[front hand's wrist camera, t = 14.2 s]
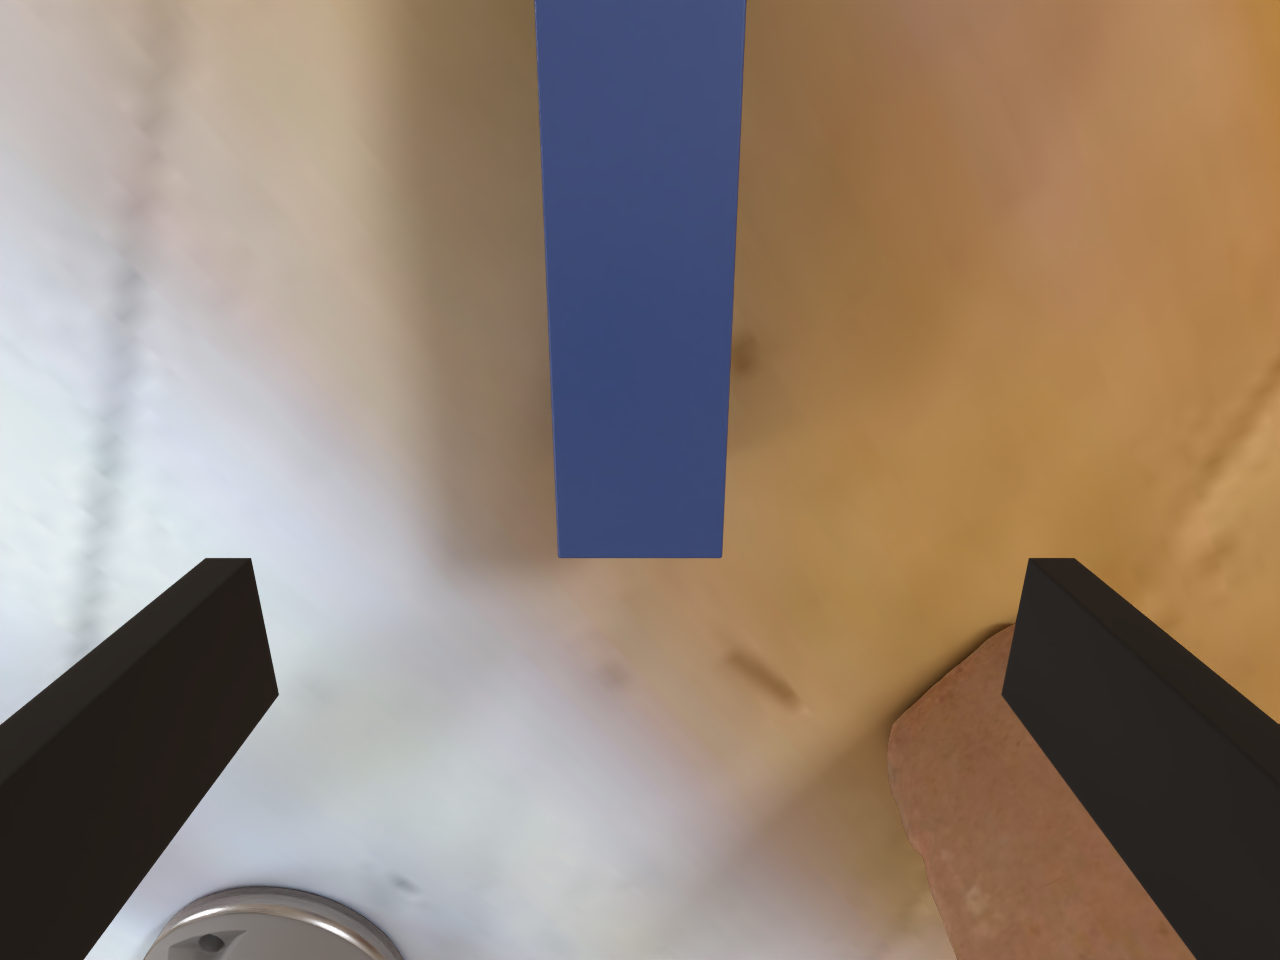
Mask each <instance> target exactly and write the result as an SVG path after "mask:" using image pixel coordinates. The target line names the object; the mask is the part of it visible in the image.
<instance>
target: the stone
mask: <svg viewBox="0 0 1280 960" xmlns="http://www.w3.org/2000/svg"><path fill="white" fill-rule="evenodd" d="M1015 624H1016V623H1015ZM1015 624H1013V625H1011V626H1009V627H1007V628H1005V629H1004V630H1002V631H1000V632H998V633H997V634H995V635H994V636H992V637H991V638H989V639H988V640H986V641H985V642H984V643H983V644H982V645H981V646H980V647H979V648H978V649H977V650H975V651H974V652H973V653H972V654H971V655H970V656H968V657H967V658H966V659H965V660H964V661H963V662H961V663H960V664H959V665H957V666H956V667H955V668H953V669H952V670H951V671H950V672H948V673H947V674H946V675H945V676H944V677H943V678H942V679H941V680H940V681H939V682H937V683H936V684H935V685H933V686H932V687H931V688H930V689H929V690H928V691H927V692H926V693H925V694H924V695H923V696H922V697H921V698H920V699H919V700H918V701H917V702H915V703H914V704H913V705H912V706H911V707H910V708H908V709H907V710H906V711H905V712H904V713H903V714H902V715H901V716H900V717H899V718H898V719H897V720H896V722H895V723H894V724H893V725H892V729H891V733H890V737H889V741H888V750H887V768H888V779H889V784H890V789H891V793H892V795H893V797H894V799H895V801H896V803H897V805H898V808H899V812H900V815H901V819H902V823H903V826H904V829H905V831H906V834H907V837H908V840H909V842H910V844H911V846H912V847H913V848H914V849H915V850H916V851H917V852H918V853H919V854H921V855H922V856H923V858H924V863H925V867H926V872H927V877H928V881H929V886H930V891H931V894H932V896H933V898H934V901H935V903H936V905H937V908H938V910H939V912H940V915H941V917H942V919H943V922H944V925H945V928H946V931H947V934H948V937H949V939H950V942H951V944H952V947H953V949H954V952H955V954H956V957H957V960H1196V958H1195V957H1194V956H1193V954H1192V953H1191V952H1190V950H1189V949H1188V948H1187V946H1186V945H1185V944H1184V942H1183V941H1182V939H1181V938H1180V937H1179V935H1178V934H1177V933H1176V931H1175V930H1174V929H1173V927H1172V926H1171V925H1170V923H1169V922H1168V920H1167V919H1166V918H1165V916H1164V915H1163V914H1162V912H1161V911H1160V910H1159V908H1158V907H1157V906H1156V904H1155V903H1154V901H1153V900H1152V899H1151V897H1150V896H1149V895H1148V893H1147V892H1146V891H1145V889H1144V888H1143V887H1142V885H1141V884H1140V882H1139V881H1138V880H1137V878H1136V877H1135V876H1134V874H1133V873H1132V872H1131V870H1130V869H1129V868H1128V866H1127V865H1126V863H1125V862H1124V861H1123V859H1122V858H1121V857H1120V855H1119V854H1118V853H1117V851H1116V850H1115V849H1114V847H1113V846H1112V844H1111V843H1110V842H1109V840H1108V839H1107V838H1106V836H1105V835H1104V834H1103V832H1102V831H1101V830H1100V828H1099V827H1098V826H1097V824H1096V823H1095V821H1094V820H1093V819H1092V817H1091V816H1090V815H1089V813H1088V812H1087V811H1086V809H1085V808H1084V807H1083V805H1082V804H1081V802H1080V801H1079V800H1078V798H1077V797H1076V796H1075V794H1074V793H1073V792H1072V790H1071V789H1070V788H1069V786H1068V785H1067V783H1066V782H1065V781H1064V779H1063V778H1062V777H1061V775H1060V774H1059V773H1058V771H1057V770H1056V769H1055V767H1054V766H1053V764H1052V763H1051V762H1050V760H1049V759H1048V758H1047V756H1046V755H1045V754H1044V752H1043V751H1042V750H1041V748H1040V747H1039V745H1038V744H1037V743H1036V741H1035V740H1034V739H1033V737H1032V736H1031V735H1030V733H1029V732H1028V731H1027V729H1026V728H1025V726H1024V725H1023V724H1022V722H1021V721H1020V720H1019V718H1018V717H1017V716H1016V714H1015V713H1014V712H1013V710H1012V709H1011V708H1010V706H1009V705H1008V703H1007V702H1006V701H1005V699H1004V698H1003V697H1002V695H1001V693H1002V688H1003V683H1004V678H1005V673H1006V669H1007V664H1008V659H1009V654H1010V649H1011V644H1012V639H1013V634H1014V629H1015Z"/></svg>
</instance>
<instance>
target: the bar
mask: <svg viewBox="0 0 1280 960" xmlns="http://www.w3.org/2000/svg"><path fill="white" fill-rule="evenodd" d="M534 2H535V25H536V49H537V73H538V96H539V120H540V143H541V167H542V190H543V214H544V238H545V261H546V285H547V308H548V332H549V355H550V379H551V403H552V426H553V450H554V473H555V497H556V520H557V544H558V557H559V558H721V557H722V547H723V524H724V501H725V478H726V456H727V433H728V410H729V387H730V364H731V341H732V318H733V295H734V273H735V250H736V227H737V204H738V181H739V158H740V135H741V112H742V90H743V67H744V44H745V21H746V0H534Z"/></svg>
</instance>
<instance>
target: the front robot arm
mask: <svg viewBox="0 0 1280 960" xmlns="http://www.w3.org/2000/svg"><path fill="white" fill-rule="evenodd" d="M278 695H279V693H278V688H277V683H276V678H275V673H274V669H273V664H272V659H271V654H270V649H269V644H268V639H267V634H266V629H265V624H264V619H263V615H262V610H261V605H260V600H259V595H258V590H257V585H256V580H255V575H254V570H253V565H252V561H251V558H205V559H204V560H203V561H202V562H200V563H199V564H198V565H197V566H195V567H194V568H193V569H192V570H191V571H189V572H188V573H187V574H186V575H184V576H183V577H182V578H181V579H179V580H178V581H177V582H176V583H175V584H173V585H172V586H171V587H170V588H168V589H167V590H166V591H165V592H163V593H162V594H161V595H160V596H159V597H157V598H156V599H155V600H154V601H152V602H151V603H150V604H149V605H147V606H146V607H145V608H144V609H143V610H141V611H140V612H139V613H138V614H136V615H135V616H134V617H133V618H131V619H130V620H129V621H128V622H127V623H125V624H124V625H123V626H122V627H120V628H119V629H118V630H117V631H115V632H114V633H113V634H112V635H111V636H109V637H108V638H107V639H106V640H104V641H103V642H102V643H101V644H100V645H98V646H97V647H96V648H95V649H93V650H92V651H91V652H90V653H88V654H87V655H86V656H85V657H84V658H82V659H81V660H80V661H79V662H77V663H76V664H75V665H74V666H72V667H71V668H70V669H69V670H68V671H66V672H65V673H64V674H63V675H61V676H60V677H59V678H58V679H56V680H55V681H54V682H53V683H52V684H50V685H49V686H48V687H47V688H45V689H44V690H43V691H42V692H40V693H39V694H38V695H37V696H36V697H34V698H33V699H32V700H31V701H29V702H28V703H27V704H26V705H25V706H23V707H22V708H21V709H20V710H18V711H17V712H16V713H15V714H13V715H12V716H11V717H10V718H9V719H7V720H6V721H5V722H4V723H2V724H1V725H0V960H84V958H85V957H86V956H87V954H88V953H89V952H90V950H91V949H92V948H93V946H94V945H95V944H96V942H97V941H98V939H99V938H100V937H101V935H102V934H103V933H104V931H105V930H106V929H107V927H108V926H109V925H110V923H111V922H112V920H113V919H114V918H115V916H116V915H117V914H118V912H119V911H120V910H121V908H122V907H123V906H124V904H125V903H126V901H127V900H128V899H129V897H130V896H131V895H132V893H133V892H134V891H135V889H136V888H137V887H138V885H139V884H140V882H141V881H142V880H143V878H144V877H145V876H146V874H147V873H148V872H149V870H150V869H151V868H152V866H153V865H154V863H155V862H156V861H157V859H158V858H159V857H160V855H161V854H162V853H163V851H164V850H165V849H166V847H167V846H168V844H169V843H170V842H171V840H172V839H173V838H174V836H175V835H176V834H177V832H178V831H179V830H180V828H181V827H182V826H183V824H184V823H185V821H186V820H187V819H188V817H189V816H190V815H191V813H192V812H193V811H194V809H195V808H196V807H197V805H198V804H199V802H200V801H201V800H202V798H203V797H204V796H205V794H206V793H207V792H208V790H209V789H210V788H211V786H212V785H213V783H214V782H215V781H216V779H217V778H218V777H219V775H220V774H221V773H222V771H223V770H224V769H225V767H226V766H227V764H228V763H229V762H230V760H231V759H232V758H233V756H234V755H235V754H236V752H237V751H238V750H239V748H240V747H241V745H242V744H243V743H244V741H245V740H246V739H247V737H248V736H249V735H250V733H251V732H252V731H253V729H254V728H255V726H256V725H257V724H258V722H259V721H260V720H261V718H262V717H263V716H264V714H265V713H266V712H267V710H268V709H269V708H270V706H271V705H272V703H273V702H274V701H275V699H276V698H277V697H278ZM1001 695H1002V697H1003V698H1004V699H1005V701H1006V702H1007V703H1008V705H1009V706H1010V708H1011V709H1012V710H1013V712H1014V713H1015V714H1016V716H1017V717H1018V718H1019V720H1020V721H1021V722H1022V724H1023V725H1024V726H1025V728H1026V729H1027V731H1028V732H1029V733H1030V735H1031V736H1032V737H1033V739H1034V740H1035V741H1036V743H1037V744H1038V745H1039V747H1040V748H1041V750H1042V751H1043V752H1044V754H1045V755H1046V756H1047V758H1048V759H1049V760H1050V762H1051V763H1052V764H1053V766H1054V767H1055V769H1056V770H1057V771H1058V773H1059V774H1060V775H1061V777H1062V778H1063V779H1064V781H1065V782H1066V783H1067V785H1068V786H1069V788H1070V789H1071V790H1072V792H1073V793H1074V794H1075V796H1076V797H1077V798H1078V800H1079V801H1080V802H1081V804H1082V805H1083V807H1084V808H1085V809H1086V811H1087V812H1088V813H1089V815H1090V816H1091V817H1092V819H1093V820H1094V821H1095V823H1096V824H1097V826H1098V827H1099V828H1100V830H1101V831H1102V832H1103V834H1104V835H1105V836H1106V838H1107V839H1108V840H1109V842H1110V843H1111V844H1112V846H1113V847H1114V849H1115V850H1116V851H1117V853H1118V854H1119V855H1120V857H1121V858H1122V859H1123V861H1124V862H1125V863H1126V865H1127V866H1128V868H1129V869H1130V870H1131V872H1132V873H1133V874H1134V876H1135V877H1136V878H1137V880H1138V881H1139V882H1140V884H1141V885H1142V887H1143V888H1144V889H1145V891H1146V892H1147V893H1148V895H1149V896H1150V897H1151V899H1152V900H1153V901H1154V903H1155V904H1156V906H1157V907H1158V908H1159V910H1160V911H1161V912H1162V914H1163V915H1164V916H1165V918H1166V919H1167V920H1168V922H1169V923H1170V925H1171V926H1172V927H1173V929H1174V930H1175V931H1176V933H1177V934H1178V935H1179V937H1180V938H1181V939H1182V941H1183V942H1184V944H1185V945H1186V946H1187V948H1188V949H1189V950H1190V952H1191V953H1192V954H1193V956H1194V957H1195V958H1196V960H1280V724H1278V723H1276V722H1275V721H1274V720H1273V719H1271V718H1270V717H1269V716H1268V715H1267V714H1265V713H1264V712H1263V711H1262V710H1260V709H1259V708H1258V707H1257V706H1255V705H1254V704H1253V703H1252V702H1251V701H1249V700H1248V699H1247V698H1246V697H1244V696H1243V695H1242V694H1241V693H1240V692H1238V691H1237V690H1236V689H1235V688H1233V687H1232V686H1231V685H1230V684H1228V683H1227V682H1226V681H1225V680H1224V679H1222V678H1221V677H1220V676H1219V675H1217V674H1216V673H1215V672H1214V671H1212V670H1211V669H1210V668H1209V667H1208V666H1206V665H1205V664H1204V663H1203V662H1201V661H1200V660H1199V659H1198V658H1196V657H1195V656H1194V655H1193V654H1192V653H1190V652H1189V651H1188V650H1187V649H1185V648H1184V647H1183V646H1182V645H1180V644H1179V643H1178V642H1177V641H1176V640H1174V639H1173V638H1172V637H1171V636H1169V635H1168V634H1167V633H1166V632H1165V631H1163V630H1162V629H1161V628H1160V627H1158V626H1157V625H1156V624H1155V623H1153V622H1152V621H1151V620H1150V619H1149V618H1147V617H1146V616H1145V615H1144V614H1142V613H1141V612H1140V611H1139V610H1137V609H1136V608H1135V607H1134V606H1133V605H1131V604H1130V603H1129V602H1128V601H1126V600H1125V599H1124V598H1123V597H1121V596H1120V595H1119V594H1118V593H1117V592H1115V591H1114V590H1113V589H1112V588H1110V587H1109V586H1108V585H1107V584H1105V583H1104V582H1103V581H1102V580H1101V579H1099V578H1098V577H1097V576H1096V575H1094V574H1093V573H1092V572H1091V571H1089V570H1088V569H1087V568H1086V567H1085V566H1083V565H1082V564H1081V563H1080V562H1078V561H1077V560H1076V559H1075V558H1029V561H1028V565H1027V570H1026V575H1025V580H1024V585H1023V590H1022V595H1021V600H1020V605H1019V610H1018V615H1017V619H1016V624H1015V629H1014V634H1013V639H1012V644H1011V649H1010V654H1009V659H1008V664H1007V669H1006V673H1005V678H1004V683H1003V688H1002V693H1001ZM144 960H404V959H403V957H402V956H401V954H400V952H399V951H398V949H397V948H396V947H395V945H394V944H393V943H392V941H391V940H390V939H389V938H388V937H387V936H386V935H385V934H384V933H383V932H382V931H381V930H380V929H379V928H378V927H376V926H375V925H374V924H373V923H371V922H370V921H369V920H367V919H366V918H364V917H363V916H361V915H360V914H358V913H356V912H355V911H353V910H351V909H349V908H347V907H345V906H343V905H341V904H339V903H336V902H334V901H332V900H329V899H326V898H323V897H321V896H317V895H314V894H310V893H307V892H302V891H297V890H292V889H284V888H273V887H249V888H238V889H232V890H227V891H223V892H219V893H215V894H212V895H209V896H206V897H204V898H202V899H199V900H197V901H195V902H193V903H192V904H190V905H188V906H187V907H185V908H184V909H182V910H181V911H180V912H178V913H177V914H176V915H175V916H174V917H173V918H172V919H171V920H170V921H169V922H168V923H167V925H166V926H165V927H164V929H163V930H162V932H161V933H160V935H159V936H158V938H157V939H156V941H155V942H154V944H153V945H152V947H151V948H150V950H149V951H148V953H147V954H146V956H145V958H144Z"/></svg>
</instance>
